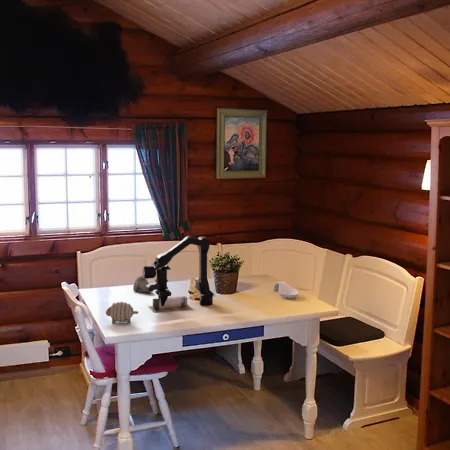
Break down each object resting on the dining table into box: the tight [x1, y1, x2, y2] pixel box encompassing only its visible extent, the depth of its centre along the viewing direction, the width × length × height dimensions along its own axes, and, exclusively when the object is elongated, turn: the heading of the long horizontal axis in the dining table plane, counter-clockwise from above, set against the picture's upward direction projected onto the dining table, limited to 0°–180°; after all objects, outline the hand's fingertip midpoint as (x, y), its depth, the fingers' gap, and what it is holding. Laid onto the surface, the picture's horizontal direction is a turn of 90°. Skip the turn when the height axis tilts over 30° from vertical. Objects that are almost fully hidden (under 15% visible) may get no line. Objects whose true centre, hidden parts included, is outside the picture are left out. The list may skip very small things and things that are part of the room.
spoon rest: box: [272, 281, 300, 300], centre depth 390 cm, size 24×12×7 cm, turn 21°
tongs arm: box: [152, 296, 184, 309], centre depth 355 cm, size 17×2×5 cm, turn 109°
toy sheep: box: [105, 301, 139, 325], centre depth 331 cm, size 11×17×11 cm, turn 88°
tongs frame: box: [152, 295, 188, 308], centre depth 357 cm, size 19×3×5 cm, turn 109°
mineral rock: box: [132, 275, 154, 293], centre depth 395 cm, size 13×11×10 cm
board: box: [148, 303, 194, 314], centre depth 356 cm, size 22×14×1 cm, turn 109°
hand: (161, 305), depth 355 cm, fingers open, 3 cm apart
